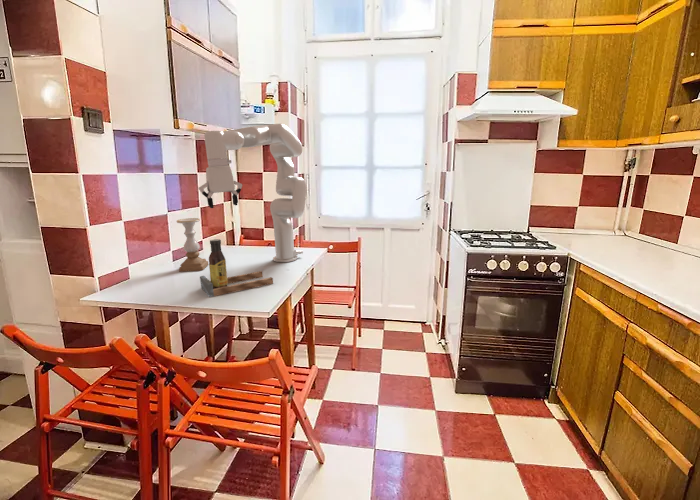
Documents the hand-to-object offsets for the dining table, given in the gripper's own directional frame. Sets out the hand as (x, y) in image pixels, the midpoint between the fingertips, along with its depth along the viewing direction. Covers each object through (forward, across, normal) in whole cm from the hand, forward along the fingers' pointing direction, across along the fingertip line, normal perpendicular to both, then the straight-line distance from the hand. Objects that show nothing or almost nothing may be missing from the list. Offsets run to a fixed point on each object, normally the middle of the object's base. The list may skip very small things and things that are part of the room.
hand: (223, 206), depth 150 cm
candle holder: (+32, +9, -32) cm, 47 cm away
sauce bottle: (+32, +8, +9) cm, 34 cm away
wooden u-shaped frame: (+32, 0, +9) cm, 33 cm away
